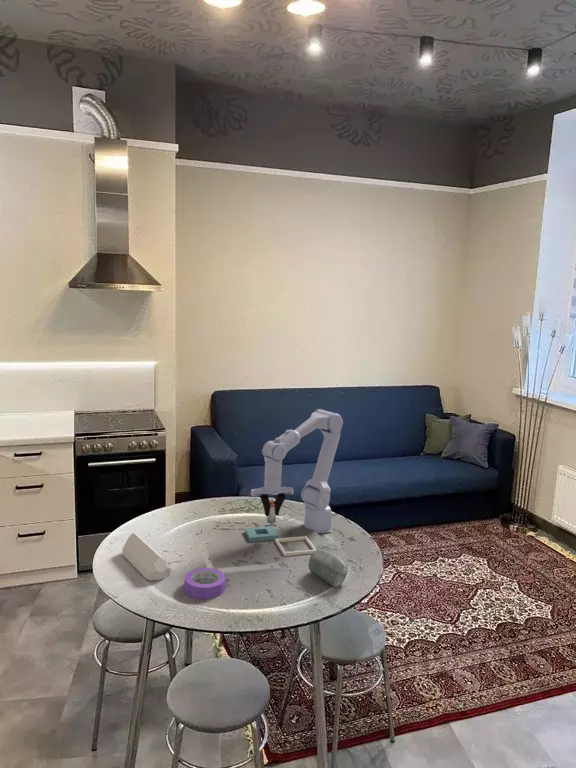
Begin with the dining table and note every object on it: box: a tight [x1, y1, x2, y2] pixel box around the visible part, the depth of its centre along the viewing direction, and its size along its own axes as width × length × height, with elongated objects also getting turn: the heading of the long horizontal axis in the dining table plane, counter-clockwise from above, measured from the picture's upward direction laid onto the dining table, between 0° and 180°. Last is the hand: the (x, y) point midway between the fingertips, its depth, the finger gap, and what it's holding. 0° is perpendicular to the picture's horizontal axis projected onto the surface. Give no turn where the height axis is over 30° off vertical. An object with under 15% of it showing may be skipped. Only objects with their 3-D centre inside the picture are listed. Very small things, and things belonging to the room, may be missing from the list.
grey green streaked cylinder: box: [308, 548, 348, 588], centre depth 177 cm, size 14×10×10 cm
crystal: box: [121, 532, 172, 582], centre depth 181 cm, size 7×7×24 cm
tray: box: [274, 535, 318, 557], centre depth 195 cm, size 11×11×2 cm
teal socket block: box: [244, 525, 280, 543], centre depth 203 cm, size 10×8×3 cm
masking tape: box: [183, 567, 226, 600], centre depth 169 cm, size 12×12×4 cm
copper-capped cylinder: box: [266, 500, 277, 524], centre depth 199 cm, size 3×3×7 cm
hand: (271, 514), depth 200 cm, fingers closed on copper-capped cylinder, 3 cm apart
